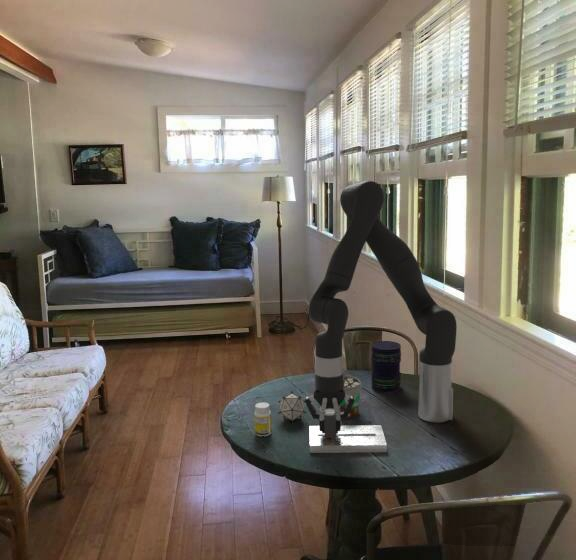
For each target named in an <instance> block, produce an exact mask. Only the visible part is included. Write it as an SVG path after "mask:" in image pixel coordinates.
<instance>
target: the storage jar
mask: <svg viewBox="0 0 576 560" xmlns="http://www.w3.org/2000/svg"><path fill="white" fill-rule="evenodd" d="M401 349H402V347H401V343H399V342H398V341H397V342H396V341H392V340H379V341H378V340H377V341H374V342H372V343H371V352H370V356H371V357H370V359H371V372H370V373H371V374H370V376H371V377H370V381H371V383H370V384H371V387H370V388H371V389H372V391H375V392H377V393H382V394H383V393H384V394H392V393H397V392H399V391H400V390H401V382H402V381H401V380H402V377H401V376H402V374H401V361H402V358H401V357H402V352H401Z"/></svg>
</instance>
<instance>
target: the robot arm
mask: <svg viewBox="0 0 576 560" xmlns="http://www.w3.org/2000/svg"><path fill="white" fill-rule="evenodd" d="M384 200H385V193H384V190H383V188H382V187H381V185H380V184H379V183H377V182H375V181H373V180H366V181H365V180H364V181H360V182H357V183H354V184H351V185H348V186H345V187H344V188H343V190H342V191H341V193H340V197H339V202H340V205H341V209H342V210H343V213H344V214H345V215H346V217H347V218H348V220H349V221H350V223H349V225H348V227H347V230H346V232H345V233H344V235H342V238H341V239H340V241H339V243H337V245H336V247H335V248H334V251H333V253H332V255H331V257H330V260H329V263H328V266H327V268H326V273H325V276H324V278H323V280H322V281H321V282H320V284H319V285H318V288H317V289H316V291H315V293H313V296H312V297H311V300H310V301H309V304H308V315H309V317H310V319H311V320H312V321H313V322H316V323H318V324H319V323H320V324H325V325H327V329H326V331H321V332H319V333H317V334H316V336H315V340H314V341H315V343H314V345H315V359H314V386H315V387H314V392H313V393H312V394H311V395H310V396H309V395H306V396H305V397H304V401H305V402H304V404H305V405H306V407H307V409H308V411H309V413H310V415H311V417H312V418H313V419H314V420H316V419H317V420H318V422H319V424H318V426H319V428H320V431H322V434H325V425H324V415H325V410H326V409H334V411H335V415H336V433H338V431H340V430H341V426H342V423H341V421H342V420H344V419H343V418H347V416H348V414H349V412H350V410H351V408H352V406H353V403H354V401H355V400H354V396H353V395H351V396H349V395H346V394H345V392H344V386H343V380H344V370H345V368H344V360H343V359H344V357H343V339H344V334H345V329H346V326H347V323H348V319H349V308H348V305H347V303H346V302H345V301H344V300H343V299H340V298H337V297H335V296H336V295H338V293H343V292H347V291H348V290H349V289H350V287H351V284H352V281H353V279H354V278H353V277H354V274H355V271H356V268H357V264H358V261H359V258H360V255H361V253H362V252H363V251H362V250H363V248H364V246H365V244H367V245H368V247H369V249H370V250H371V252H372V254H373V255H374V257H375V259H376V260H377V261H378V263H379V265H380V267H381V268H382V270H383V271H384V273H385V275H386V276H387V278H388V279H389V281H390V283H391V284H392V285H393V287H394V289H395V290H396V291H397V293H398V294H399V295H400V297H401V298H402V300H403V301H404V303H405V305H406V306H407V309H408V311H409V313H410V314H411V318H412V319H413V321H414V323H415V325H416V328H417V329H418V330H419V332H421V333H422V334H423V335H425V345H424V348H421V349H420V351H419V355H418V357H419V358H418V360H419V362H418V406H417V408H418V417H419V419H421V420H422V421H426V422H430V423H445V422H447V421H452V420H453V406H454V405H453V402H454V401H453V400H454V388H453V387H452V369H453V366H452V365H453V357H454V355H455V354H454V353H455V351H456V343H457V342H456V341H457V328H458V327H457V320H456V316H455V315H454V313H452V312H451V311H450V310H448V309H446V308H444V307H442V306H440V305H439V304H437V303H436V301H435V300H434V299H433V297H432V296H431V295H430V293H429V292H428V290H427V288H426V286H425V283H424V279H423V275H422V270H421V266H420V264H419V262H418V260H417V259H416V257H415V255H414V254H413V251H412V250H411V248H410V247H409V246H408V244H407V243H406V242H405V241H404V240H403V239H402V238H401V237H399V236H398V235H397V234H396V233H395V232H394V231H391V230H390V229H389V228H388V227H387V226H386V225H385V224H384V223H383V221H381V219H380V218H379V215H380V213H381V210H382V208H383V206H384ZM344 398H345V399H346V400H345V402H346V405H345V407H344V410H343V412H341V413H340V404H341V402H342V401H343V400H344ZM314 400H315V401H316V402H317V404H318V405H319V406H320V407H319V412H317V410H316V408H315V406H314Z"/></svg>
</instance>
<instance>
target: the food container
mask: <svg viewBox="0 0 576 560" xmlns="http://www.w3.org/2000/svg"><path fill="white" fill-rule="evenodd" d="M343 386H344V392H345V394H346V395H349V396H351V395H353V396H354V400H355V401H354V403H353V406H352V408H351V410H350V412H349V414H348V416H347V418H343V419H342V420H349V419H354V418H356V417H357V416H359V412H360V411H359V410H360V409H359V408H360V395H361V392H362V390H363V385H362V382H361V380H360V379H359V378H358V377H356V376H353V375H347V374H346V375H345V374H343ZM345 400H346V399H345V398H344V400H343V401H342V402H341V404H340V405H339V412H340V413H341V412H343V410H344V407H345V405H346V402H345Z"/></svg>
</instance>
